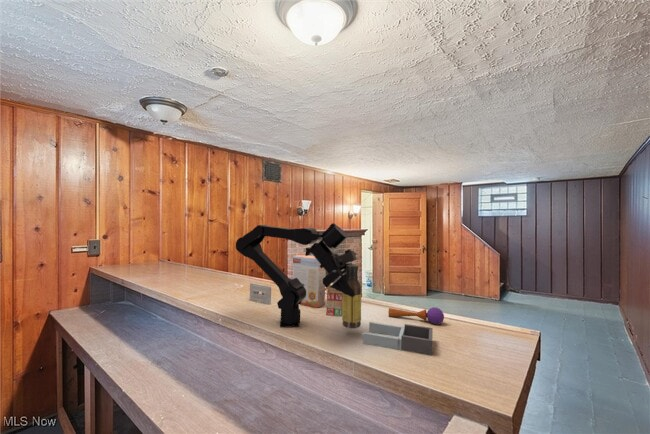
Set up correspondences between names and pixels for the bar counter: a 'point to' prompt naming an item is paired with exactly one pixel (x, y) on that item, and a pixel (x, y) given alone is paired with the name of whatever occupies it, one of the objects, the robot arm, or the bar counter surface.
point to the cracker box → (310, 279)
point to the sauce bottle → (352, 299)
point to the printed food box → (334, 302)
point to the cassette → (260, 298)
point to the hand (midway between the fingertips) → (356, 293)
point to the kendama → (420, 314)
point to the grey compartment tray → (400, 337)
